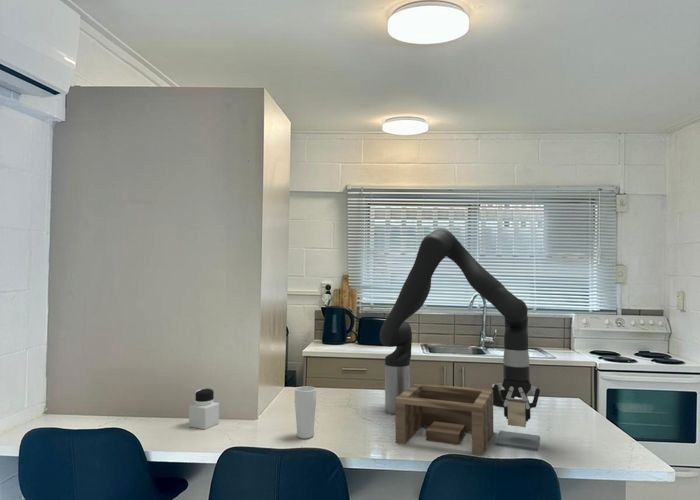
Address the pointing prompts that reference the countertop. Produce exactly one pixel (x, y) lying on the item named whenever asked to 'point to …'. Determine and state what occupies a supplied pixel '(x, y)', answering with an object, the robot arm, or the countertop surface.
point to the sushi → (503, 394)
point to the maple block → (516, 413)
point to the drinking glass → (305, 411)
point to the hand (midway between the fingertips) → (517, 419)
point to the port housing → (445, 414)
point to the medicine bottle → (204, 410)
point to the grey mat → (517, 440)
